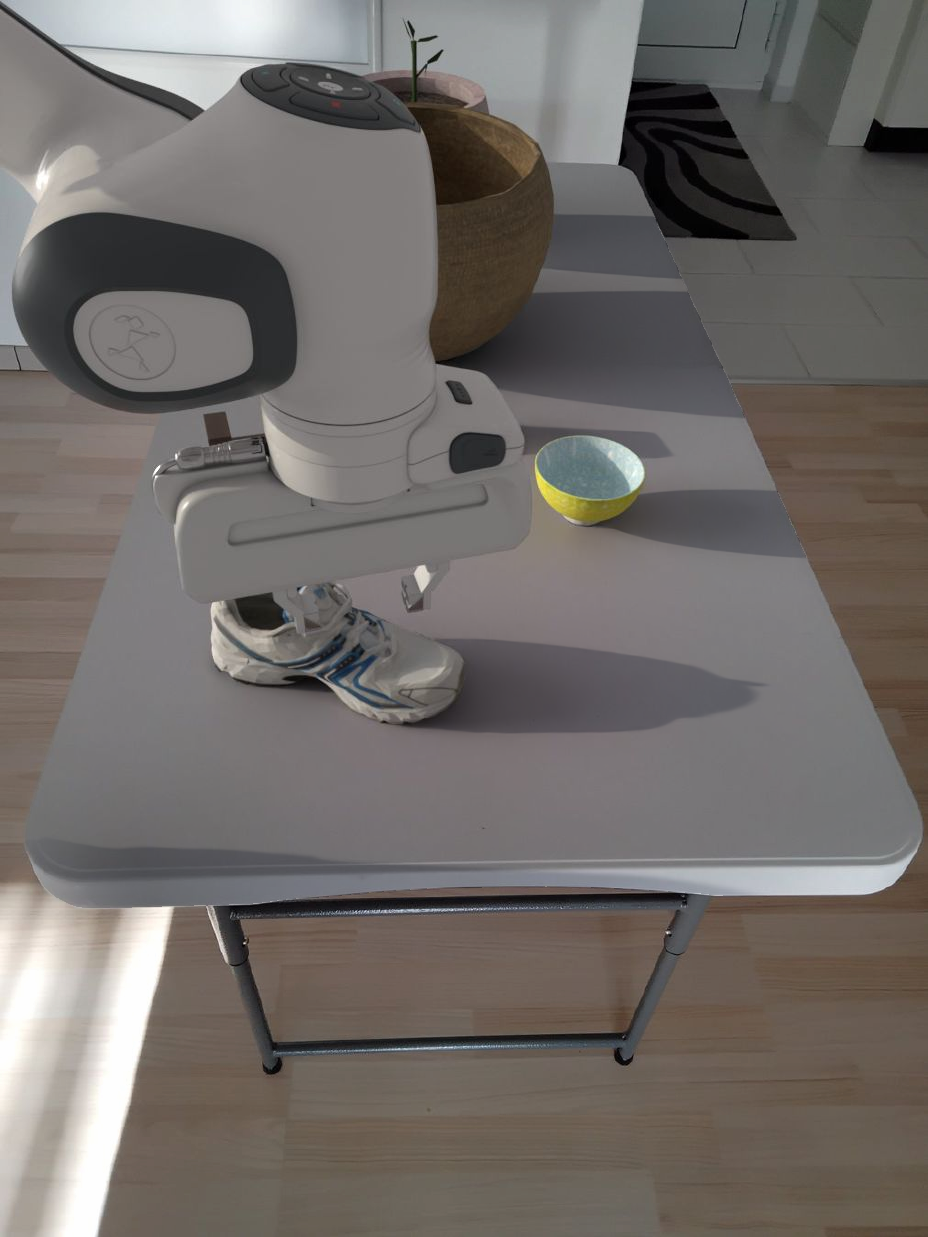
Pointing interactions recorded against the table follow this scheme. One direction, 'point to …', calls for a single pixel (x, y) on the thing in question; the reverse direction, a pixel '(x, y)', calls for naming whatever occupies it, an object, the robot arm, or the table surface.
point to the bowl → (588, 478)
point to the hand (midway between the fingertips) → (362, 614)
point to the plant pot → (430, 83)
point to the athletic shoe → (337, 655)
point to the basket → (483, 222)
